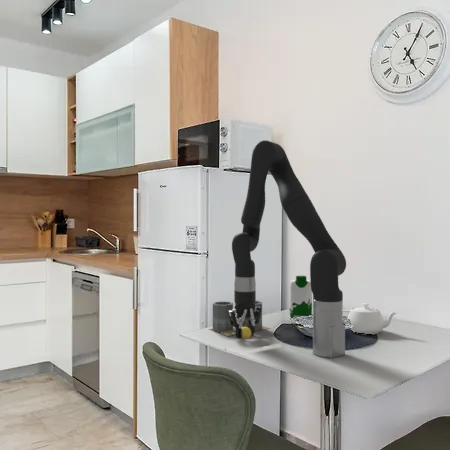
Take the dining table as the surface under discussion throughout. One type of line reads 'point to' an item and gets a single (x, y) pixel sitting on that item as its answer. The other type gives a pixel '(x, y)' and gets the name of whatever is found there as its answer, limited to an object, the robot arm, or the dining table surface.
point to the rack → (223, 323)
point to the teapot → (367, 319)
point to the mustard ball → (246, 332)
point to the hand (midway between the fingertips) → (244, 336)
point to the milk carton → (300, 297)
